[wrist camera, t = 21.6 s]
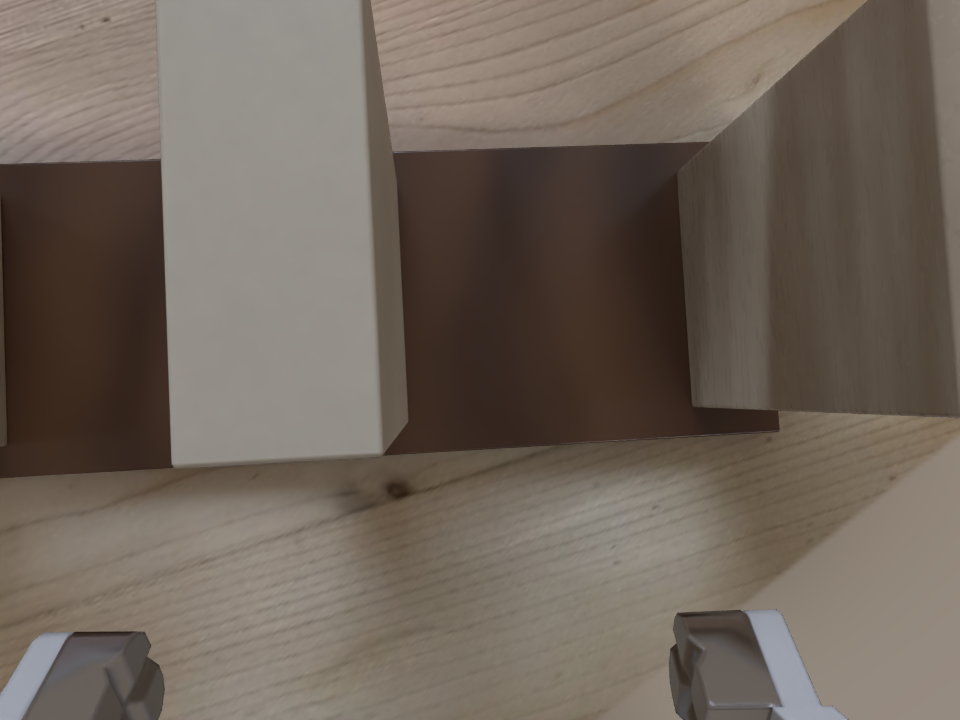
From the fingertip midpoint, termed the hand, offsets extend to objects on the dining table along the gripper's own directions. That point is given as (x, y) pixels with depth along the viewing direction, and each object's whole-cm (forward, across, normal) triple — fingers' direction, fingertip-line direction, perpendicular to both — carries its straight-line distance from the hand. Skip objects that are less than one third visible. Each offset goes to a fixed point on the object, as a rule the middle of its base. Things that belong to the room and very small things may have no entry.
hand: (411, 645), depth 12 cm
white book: (+14, +3, +1) cm, 15 cm away
